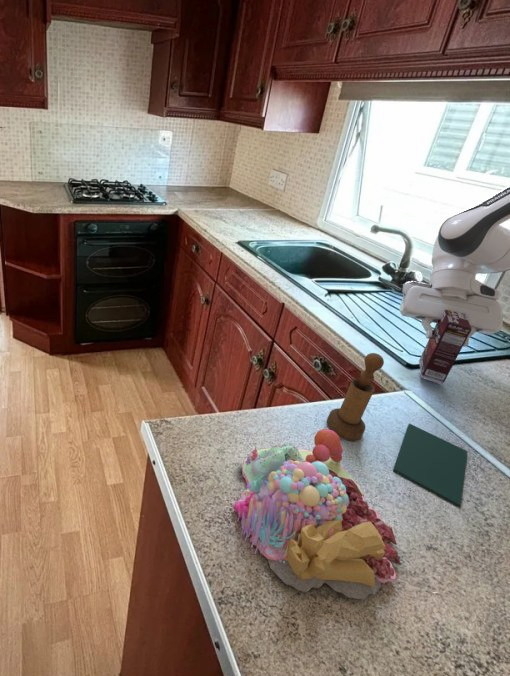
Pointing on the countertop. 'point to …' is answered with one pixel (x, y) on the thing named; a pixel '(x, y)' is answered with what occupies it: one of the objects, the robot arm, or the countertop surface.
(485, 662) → the countertop surface
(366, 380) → the mortar and pestle
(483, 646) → the countertop surface
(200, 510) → the countertop surface
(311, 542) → the candy landscape model
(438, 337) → the supplement box
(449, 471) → the rubber mat
